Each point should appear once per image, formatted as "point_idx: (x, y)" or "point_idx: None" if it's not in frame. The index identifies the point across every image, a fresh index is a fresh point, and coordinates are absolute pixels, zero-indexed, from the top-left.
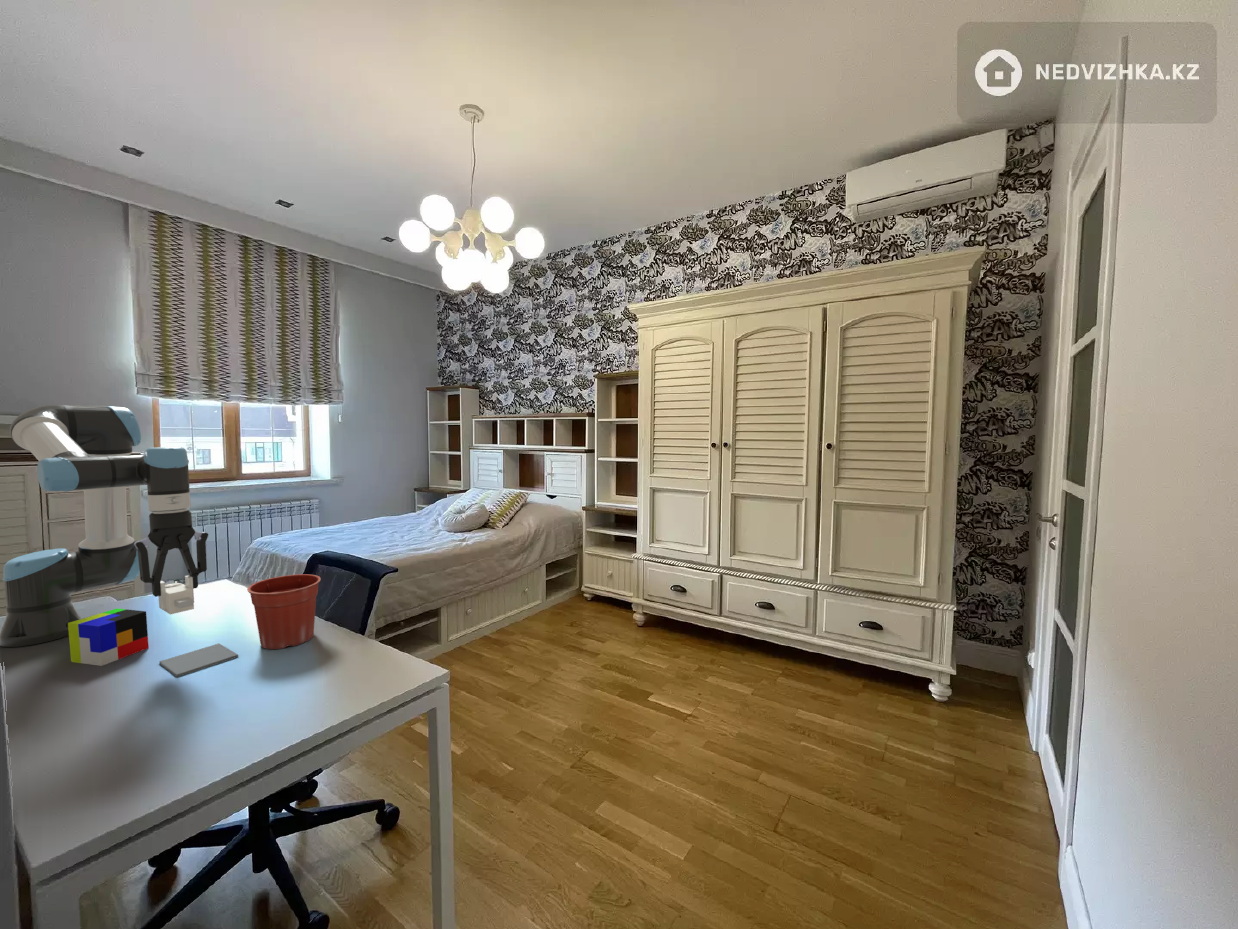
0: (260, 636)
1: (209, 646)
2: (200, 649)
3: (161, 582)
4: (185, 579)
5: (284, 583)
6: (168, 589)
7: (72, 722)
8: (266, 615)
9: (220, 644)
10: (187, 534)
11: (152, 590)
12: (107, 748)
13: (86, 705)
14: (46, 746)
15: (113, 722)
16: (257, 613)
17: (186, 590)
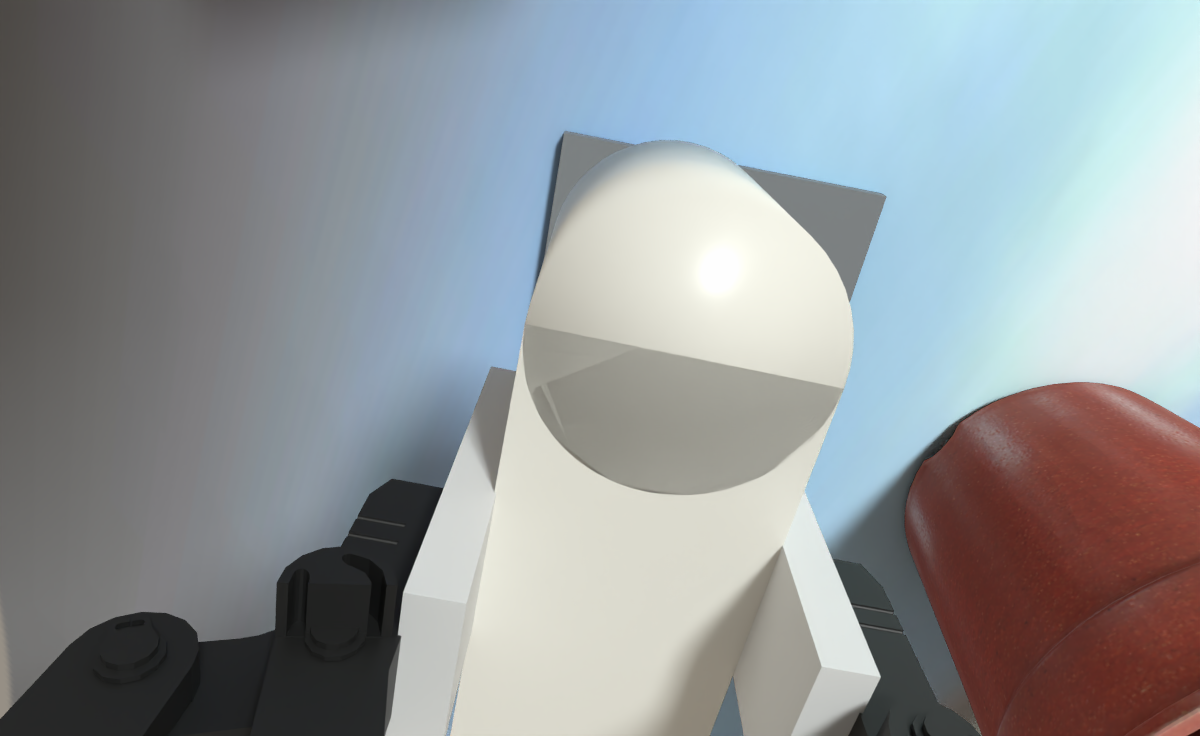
0: (936, 514)
1: (828, 191)
2: (776, 185)
3: (406, 720)
4: (800, 632)
5: None
6: (548, 552)
7: (122, 449)
8: (976, 712)
9: (873, 228)
10: None
11: (348, 540)
12: None
13: (183, 334)
14: (44, 551)
15: (224, 581)
16: (991, 647)
17: None
